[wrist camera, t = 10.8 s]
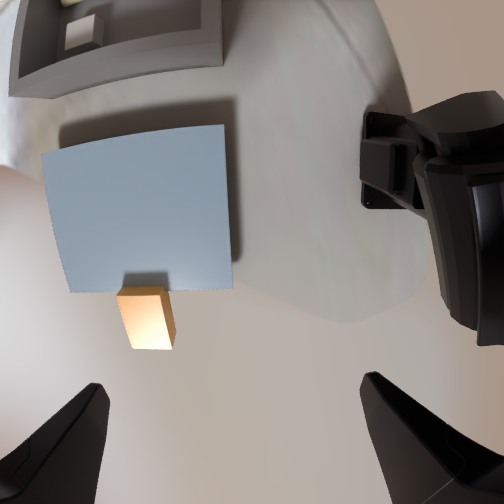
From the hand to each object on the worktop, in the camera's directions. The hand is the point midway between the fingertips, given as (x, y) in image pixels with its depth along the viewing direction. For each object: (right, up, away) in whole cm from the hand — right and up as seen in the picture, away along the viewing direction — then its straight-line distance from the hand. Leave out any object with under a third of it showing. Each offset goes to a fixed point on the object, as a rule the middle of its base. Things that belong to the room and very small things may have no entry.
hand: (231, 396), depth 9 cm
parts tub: (-7, +20, +4) cm, 22 cm away
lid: (-7, +5, +10) cm, 13 cm away
